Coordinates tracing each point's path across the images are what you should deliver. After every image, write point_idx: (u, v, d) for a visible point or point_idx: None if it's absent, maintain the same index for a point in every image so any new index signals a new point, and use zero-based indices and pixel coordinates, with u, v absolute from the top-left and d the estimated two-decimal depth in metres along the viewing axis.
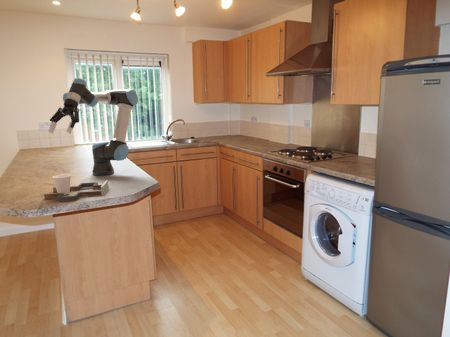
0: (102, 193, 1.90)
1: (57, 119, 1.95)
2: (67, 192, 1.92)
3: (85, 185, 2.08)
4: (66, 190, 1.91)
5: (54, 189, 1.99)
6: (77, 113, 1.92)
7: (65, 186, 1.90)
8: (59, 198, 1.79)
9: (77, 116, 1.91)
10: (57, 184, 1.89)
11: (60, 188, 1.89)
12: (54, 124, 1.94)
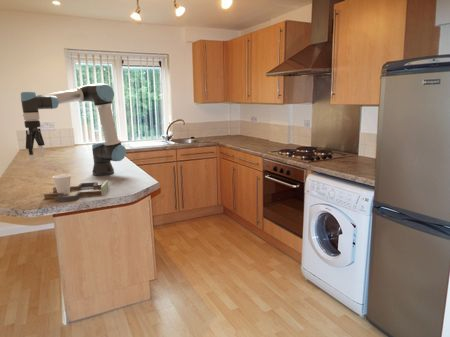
0: (102, 193, 1.90)
1: (38, 142, 1.91)
2: (67, 192, 1.92)
3: (85, 185, 2.08)
4: (66, 190, 1.91)
5: (54, 189, 1.99)
6: (28, 137, 1.78)
7: (65, 186, 1.90)
8: (59, 198, 1.79)
9: (28, 141, 1.77)
10: (57, 184, 1.89)
11: (60, 188, 1.89)
12: (40, 147, 1.92)
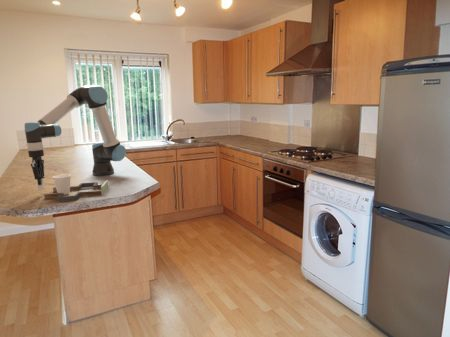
0: (102, 193, 1.90)
1: None
2: (67, 192, 1.92)
3: (85, 185, 2.08)
4: (66, 190, 1.91)
5: (54, 189, 1.99)
6: (35, 170, 1.84)
7: (65, 186, 1.90)
8: (59, 198, 1.79)
9: (35, 174, 1.85)
10: (57, 184, 1.89)
11: (60, 188, 1.89)
12: None
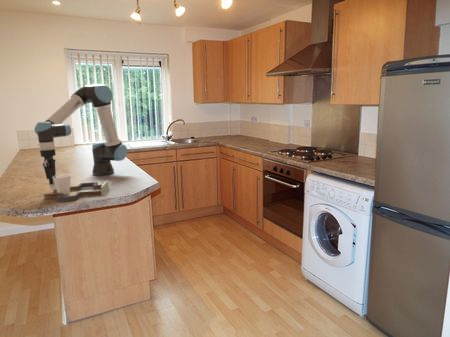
0: (102, 193, 1.90)
1: None
2: (67, 192, 1.92)
3: (85, 185, 2.08)
4: (66, 190, 1.91)
5: (54, 189, 1.99)
6: (46, 169, 1.85)
7: (65, 186, 1.90)
8: (59, 198, 1.79)
9: (47, 173, 1.86)
10: (57, 184, 1.89)
11: (60, 188, 1.89)
12: None
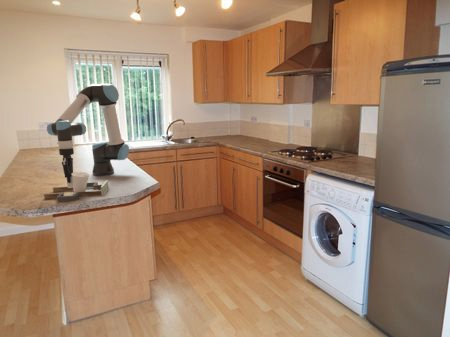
0: (102, 193, 1.90)
1: None
2: (83, 191, 1.94)
3: None
4: (82, 189, 1.93)
5: (54, 189, 1.99)
6: (65, 168, 1.86)
7: (83, 185, 1.92)
8: (59, 198, 1.79)
9: (66, 172, 1.87)
10: (75, 182, 1.90)
11: (77, 186, 1.91)
12: None
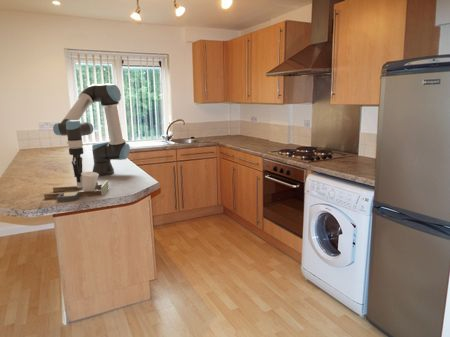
0: (102, 193, 1.90)
1: None
2: (92, 190, 1.94)
3: None
4: (92, 188, 1.94)
5: (54, 189, 1.99)
6: (75, 167, 1.87)
7: (92, 185, 1.93)
8: (59, 198, 1.79)
9: (75, 171, 1.88)
10: (85, 181, 1.91)
11: (87, 186, 1.91)
12: None
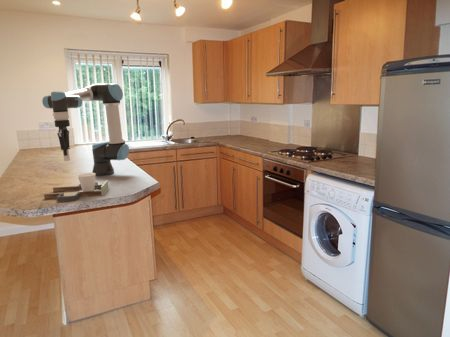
0: (102, 193, 1.90)
1: None
2: (92, 190, 1.94)
3: None
4: (91, 188, 1.94)
5: (54, 189, 1.99)
6: (61, 140, 1.83)
7: (91, 185, 1.93)
8: (59, 198, 1.79)
9: (62, 144, 1.84)
10: (83, 182, 1.91)
11: (86, 186, 1.91)
12: None
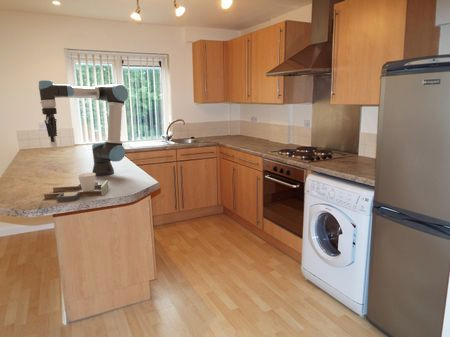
0: (102, 193, 1.90)
1: None
2: (92, 190, 1.94)
3: None
4: (91, 188, 1.94)
5: (54, 189, 1.99)
6: (48, 126, 1.92)
7: (91, 185, 1.93)
8: (59, 198, 1.79)
9: (49, 130, 1.93)
10: (83, 182, 1.91)
11: (86, 186, 1.91)
12: None
